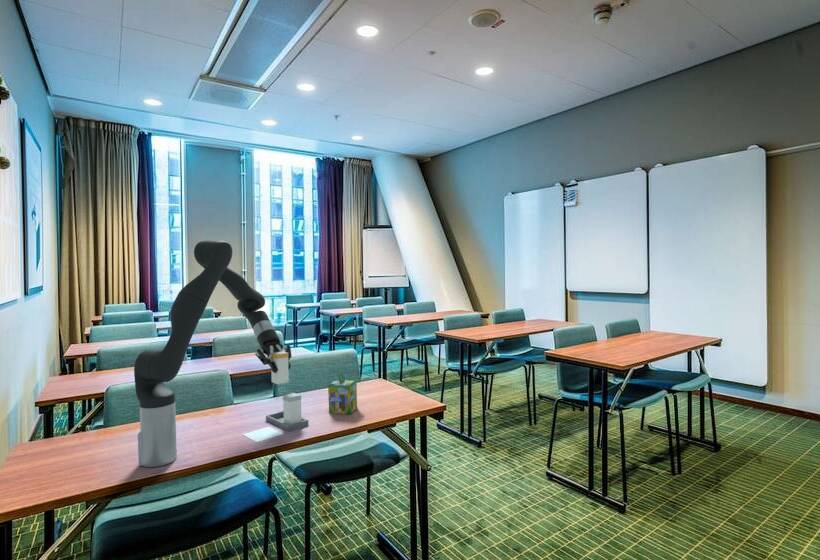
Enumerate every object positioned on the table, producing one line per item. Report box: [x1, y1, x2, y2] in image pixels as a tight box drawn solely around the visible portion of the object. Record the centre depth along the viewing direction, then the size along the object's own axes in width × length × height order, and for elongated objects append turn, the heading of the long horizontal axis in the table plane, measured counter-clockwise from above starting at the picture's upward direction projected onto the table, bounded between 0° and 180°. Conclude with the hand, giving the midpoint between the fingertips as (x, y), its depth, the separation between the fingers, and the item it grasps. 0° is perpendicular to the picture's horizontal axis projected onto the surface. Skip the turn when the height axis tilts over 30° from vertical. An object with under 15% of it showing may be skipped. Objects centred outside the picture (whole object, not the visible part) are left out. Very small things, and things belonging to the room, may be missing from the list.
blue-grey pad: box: [242, 426, 285, 444], centre depth 151 cm, size 10×10×1 cm
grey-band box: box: [282, 392, 302, 425], centre depth 159 cm, size 5×5×11 cm
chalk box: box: [327, 372, 358, 415], centre depth 176 cm, size 9×9×15 cm
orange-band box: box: [270, 350, 290, 385], centre depth 165 cm, size 5×5×11 cm
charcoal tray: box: [265, 410, 309, 432], centre depth 162 cm, size 16×8×2 cm, turn 46°
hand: (282, 370), depth 163 cm, fingers closed on orange-band box, 4 cm apart
